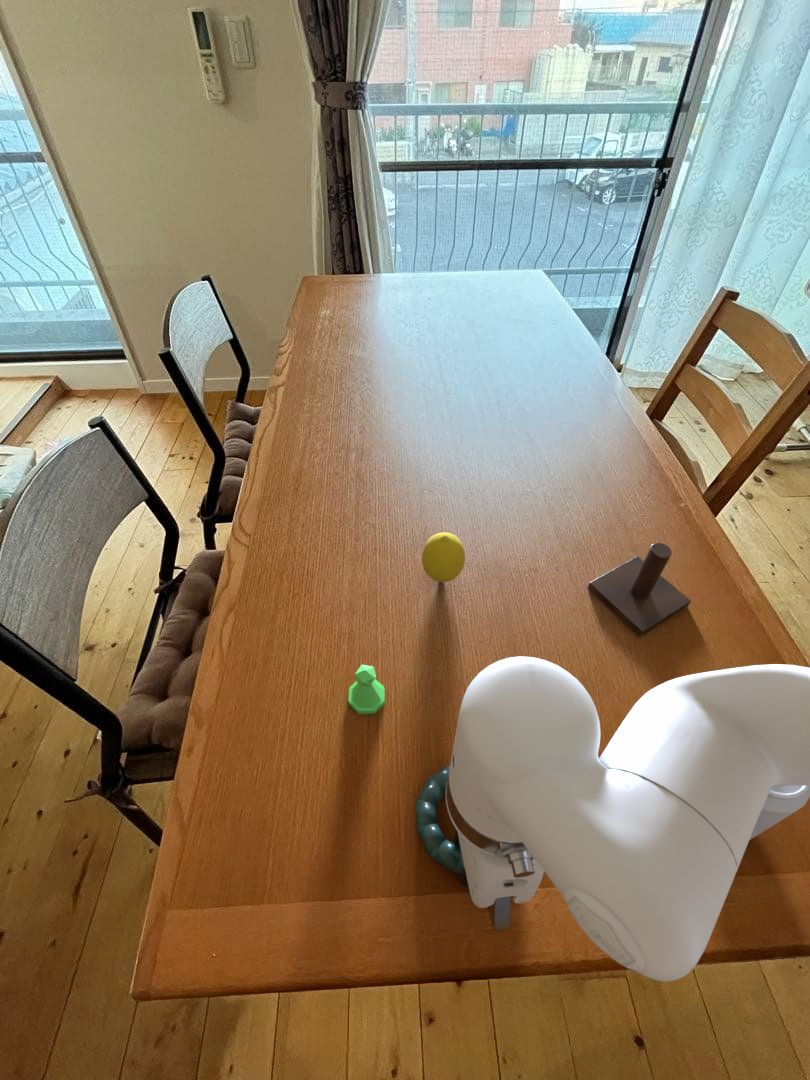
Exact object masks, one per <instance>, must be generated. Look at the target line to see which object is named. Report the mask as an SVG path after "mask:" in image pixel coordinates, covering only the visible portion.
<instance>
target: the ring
mask: <svg viewBox="0 0 810 1080" xmlns="http://www.w3.org/2000/svg"><path fill="white" fill-rule="evenodd" d="M449 769H450V764H449V765H446V766H445V767H443V768H442V769H440V770H438V771H436V772H435V773H434V774H432V775H431V776H429V777H427V779H426V781H425V782H424V785H423V787H422V789H421V791H420V793H419V795H418V797H417V799H416V801H415V825H416V833H417V835H418V837H419V839H420V840H421V843H422V845H424V847H425V849H426V851H427V853H428V854H429V855H430V858H431V859H433V861H435V862H437V863H439V864H440V865H442V866H444V867H445V868H447V869H449V870H451V871H452V872H454V873H456V874H458V875H459V874H460V875H462V874H463V871H464V868H465V867H464V863H463V858H462V853H461V848H460V847H459V846H457V845H455V844H454V842H452V841H450V840H449V839H448V838H446V836H445V834H444V833H443V831H442V830H441V828H440V826H439V825H438V811H437V810H438V809H437V808H438V806H439V804H440V801H441V800H442V797H443V796H444V794H446V784H447V780H448V774H449Z"/></svg>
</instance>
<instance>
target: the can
mask: <svg viewBox="0 0 810 1080" xmlns="http://www.w3.org/2000/svg"><path fill="white" fill-rule="evenodd" d="M809 799H810V786H806V785H781V786H774V787H772V788H771V789H770V792H769V794H768V797H767V799H766V802H765V804H764V806H763V809H762V811H761V813H760V815H759V817H758V820H757V822H756V825H755V827H754V830H753V832H752V835H751V837H750V840H753V838H755V837H757V836H759V835H760V834H762V833H763V832H765V831H767V830H768V829H770V828H772V827H773V826H775V825H776V824H778V823H780V822H781V821H783V820H784V819H786V818H788V817H789V816H791V815H792V814H794V813H796V812H797V811H799V810H800V809H802V808H803V807H804V806H806V805H807V802H808V801H809Z"/></svg>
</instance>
